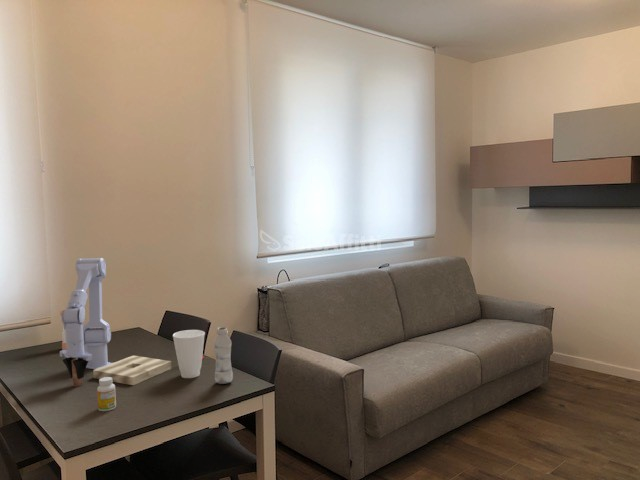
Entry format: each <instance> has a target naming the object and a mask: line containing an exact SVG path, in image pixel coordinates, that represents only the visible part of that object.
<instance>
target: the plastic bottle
mask: <svg viewBox="0 0 640 480" xmlns="http://www.w3.org/2000/svg"><path fill="white" fill-rule="evenodd" d="M216 335H217V336H216V337H215V338H214V340H213V348H214V354H215V355H214V357H215V372H214V379H215V382H216V383H217V384H219V385H224V384H225V385H226V384H230V383H231V382H232V381H233V377H234V373H233V368H232V362H231V361H232V360H231V355H232V354H231V353H232V340H231V338H230V336H228V327H223V326H221V327H217V328H216Z"/></svg>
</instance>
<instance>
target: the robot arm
mask: <svg viewBox="0 0 640 480" xmlns="http://www.w3.org/2000/svg"><path fill="white" fill-rule="evenodd" d="M75 270H76V271H75V272H76V274H77V281H76V287H75V290H73V291H71V293H70V296H69V299H68V302H67V306H66V308H64V309H65V310H64V309H62V310H63V312H62V316H61V321H62V326H63V325H64V329H65V331H66V346H67V350H60V351H59V357H61V358H62V357H64V358H63V359H62V362H63V363H64V365H65V367H66V368H67V371H68V375H69V376H70V378H71V379H73V376H72V360H73V359H78V360H74V361H73V364H74V366H75V368H76V374H77V378H78V379H81V378H82V379H84V377H85V373H86V369H92V370H95V369H98V368H101V367H103V366H106V365H109V364H112V363H113V362H110V361H109V358H108V344H109V343H110V341H111V339H112V331H111V326H110V324H109V323H108V322H107V321H105V320H104V319H103V279H105V278H106V277H107V264H106V260H105V259H104V258H103V257H96V258H95V257H94V258H93V257H92V258H91V257H90V258H81V257H80V258H77V260H76V262H75ZM87 290H88V293H87ZM87 301H88V316H89V317H88V318H89V320H88V321H87V322H85V318H86V309H85V307H86V305H87ZM84 322H85V324H84V325H83V323H84Z"/></svg>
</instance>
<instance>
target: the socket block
mask: <svg viewBox="0 0 640 480" xmlns="http://www.w3.org/2000/svg"><path fill="white" fill-rule="evenodd" d="M111 363H112V364H109V365H106V366H103V367H101V368H98V369H92V370H93V371H92V372H93V378H94V379H98V380H99V379H101V378H104V377H112V380H113V382H114V383H119V384H125V385H130V386H135V385H138V384H140V383H142V382H145V381H146V380H149V379H151V378H153V377H156V376H157V375H160V374H163V373H165V372H167V371H170V370H172V361H171V360H165V359H158V358H152V357H146V356H140V355H131V356H128V357H125V358H123V359H120V360H118V361H115V362H111ZM113 382H112V383H113Z"/></svg>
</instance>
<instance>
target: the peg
mask: <svg viewBox="0 0 640 480" xmlns="http://www.w3.org/2000/svg"><path fill="white" fill-rule="evenodd" d="M74 360H78V359H73V360H72V376H73V378H72V386H73V388H79V387H81V386H83V378H81V379H78V378H77V374H76V368H75V366H74V364H73V361H74Z"/></svg>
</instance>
